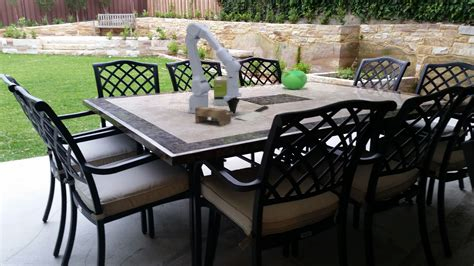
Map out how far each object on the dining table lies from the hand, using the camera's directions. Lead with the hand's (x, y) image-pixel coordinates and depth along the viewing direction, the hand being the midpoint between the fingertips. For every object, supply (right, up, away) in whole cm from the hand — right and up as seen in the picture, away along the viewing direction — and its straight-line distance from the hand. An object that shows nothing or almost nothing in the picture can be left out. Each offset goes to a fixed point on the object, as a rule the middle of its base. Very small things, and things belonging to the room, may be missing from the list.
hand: (232, 113), depth 194 cm
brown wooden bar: (-5, -3, -6) cm, 8 cm away
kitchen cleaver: (+12, -1, +3) cm, 13 cm away
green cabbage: (+42, +21, +83) cm, 96 cm away
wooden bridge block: (-9, -5, -15) cm, 18 cm away
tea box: (-6, +7, +30) cm, 32 cm away
